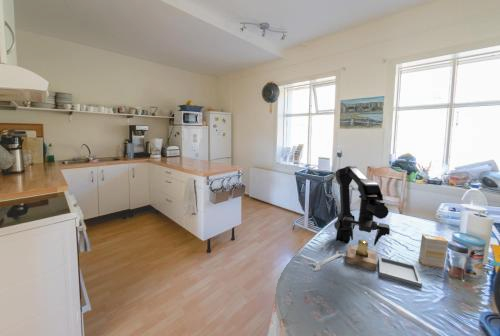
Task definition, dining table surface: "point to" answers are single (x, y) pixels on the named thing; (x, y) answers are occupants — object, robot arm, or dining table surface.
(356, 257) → the pin block
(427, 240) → the supplement box
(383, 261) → the tray
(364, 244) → the brass pin
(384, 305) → the dining table surface
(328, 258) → the wrench
